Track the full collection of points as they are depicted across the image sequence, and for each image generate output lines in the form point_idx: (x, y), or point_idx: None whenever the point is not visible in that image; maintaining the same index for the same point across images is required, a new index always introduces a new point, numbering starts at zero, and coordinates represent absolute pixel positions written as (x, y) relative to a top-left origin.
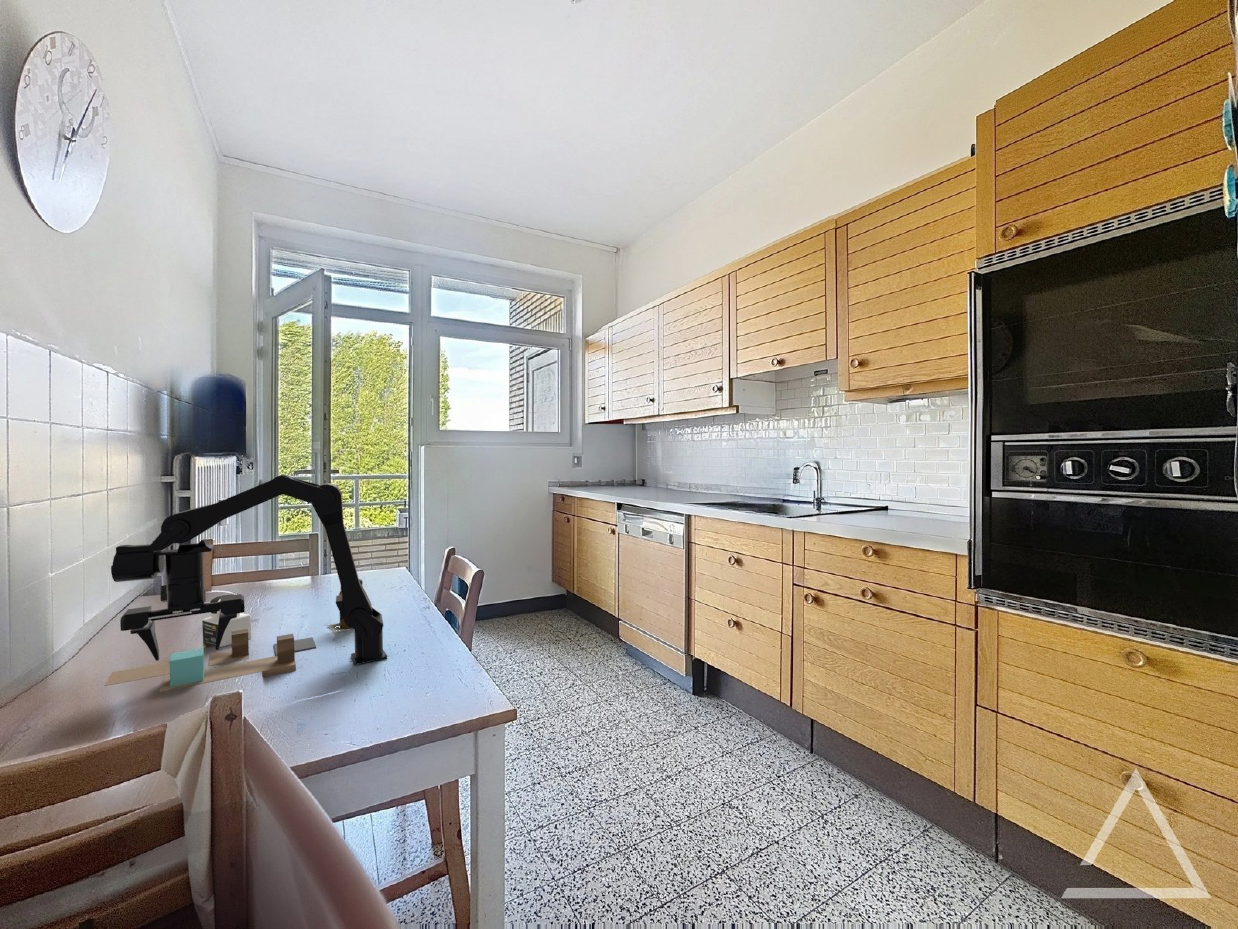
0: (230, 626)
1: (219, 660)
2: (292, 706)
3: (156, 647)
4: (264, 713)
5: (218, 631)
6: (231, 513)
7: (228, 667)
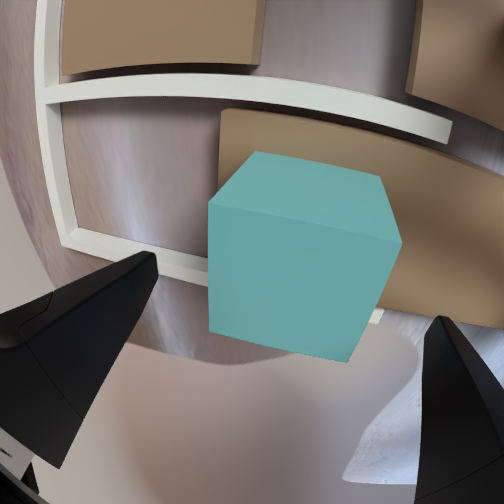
0: None
1: (462, 53)
2: (412, 433)
3: (115, 347)
4: (376, 431)
5: (422, 471)
6: None
7: (463, 202)
